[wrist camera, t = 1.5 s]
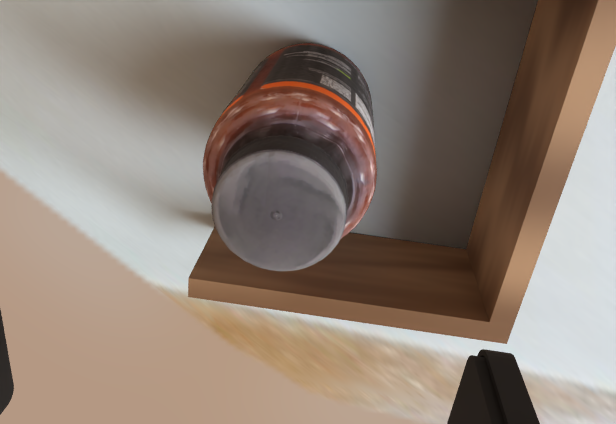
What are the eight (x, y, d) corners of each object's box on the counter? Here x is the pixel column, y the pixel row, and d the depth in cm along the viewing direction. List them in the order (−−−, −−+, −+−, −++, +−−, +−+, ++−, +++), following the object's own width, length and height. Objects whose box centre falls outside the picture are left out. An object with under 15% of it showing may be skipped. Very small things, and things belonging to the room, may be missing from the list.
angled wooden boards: (233, -85, 22) (192, -91, 17) (576, -43, 22) (644, -35, 16) (220, 230, 29) (188, 296, 24) (480, 267, 29) (506, 343, 23)
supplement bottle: (250, 162, 27) (184, 295, 17) (243, 39, 24) (159, 112, 14) (370, 165, 27) (373, 305, 17) (376, 40, 24) (385, 118, 14)
